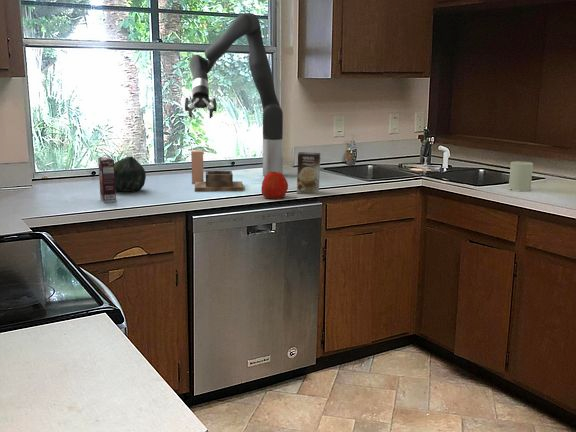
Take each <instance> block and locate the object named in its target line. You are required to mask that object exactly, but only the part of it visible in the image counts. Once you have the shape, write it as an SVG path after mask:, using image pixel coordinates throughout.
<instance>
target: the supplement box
mask: <svg viewBox="0 0 576 432" xmlns="http://www.w3.org/2000/svg"><path fill="white" fill-rule="evenodd" d="M114 163H115V159H113V158H111V157H110V156H103V157H97V165H98V177H99V178H98V179H99V194H100V196H99V197H100V200H101V201H102V202H103V203H104V204H105V203H116V202H117V191H116V188H115V170H114Z"/></svg>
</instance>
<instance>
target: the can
mask: <svg viewBox="0 0 576 432" xmlns="http://www.w3.org/2000/svg"><path fill="white" fill-rule="evenodd" d="M533 168H534V163H533V162H529V161H523V160H522V161H518V160H517V161H511V162H510V169H509V180H508V188H510V189H513V190H520V191H519V192H530V191H529V190H531V191H532V178H533V170H534V169H533ZM513 190H512V191H513Z"/></svg>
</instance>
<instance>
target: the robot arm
mask: <svg viewBox="0 0 576 432" xmlns="http://www.w3.org/2000/svg"><path fill="white" fill-rule="evenodd" d="M243 36H245V38H246V40H247V43H248V47H249V49H248V50H249V53H248V54H249V55H248V66H249V70H250V73H251V77H252V80H253V83H254V86H255V88H256V90H257V92H258V94H259V97H260V101H261V106H262V176H264V177H265V176H266V174H267V173H268V172H274V171H275V172H280V173H282V174H283V175H284V155H283V136H284V132H283V129H284V128H283V127H284V126H283V124H284V121H283V120H284V117H283V116H284V112H283V109H282V107H281V105H280V102H279V100H278V98H277V97H278V96H277V94H276V90H275V84H274V78H273V77H274V76H273V73H272V69H271V65H270V61H269V59H268V55H267V51H266V47H265V43H264V39H263V34H262V29H261V22H260V20H259V17H258V15H256V14H255V13H252V12H251V13H250V12H249V13H246V12H245V13H240V14H239V15H238V16H237V17H236V18H235V19H234V20H233V22H232V23H231V25H230V26H229V27H228V28H227V29H226V30H225V32H223V34H221V36H219V37H218V38H217V39H216V40H215V41H214V42H213V43H211V45H209V46H208V47H207V48H206V49H205V50H204V55H205V58H204V57H203V56H202V55H200V54H193V55H192V56H191V57H190V58H189V65H188V66H189V70H190V72H191V76H192V86H191V87H192V88H191V89H192V96H191V97H192V98H188V97H185V101H184V111H185V112H188V117H189V118H190V119H193V111H194V110H196V109H206V110H207V111H208V112H209V113H208V114H209V119H212V118H213V116H214V115H213V114H214V113H213V112H217V99H216V98H215V97H213V98H212V99H210V89H209V87H210V86H209V75H208V74H209V73H210V72H211V70H212V69H213V67H214V65H215V64H216V63H217V61H218V60H219V59H220V58H221V57H223V56H224V55H225V54H226V53H227V52H228V50H229V49H230V47H231V46H232V45H233V44H234V43H235V42H236V41H237V40H239V39H240V38H242V37H243Z"/></svg>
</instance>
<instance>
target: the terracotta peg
mask: <svg viewBox="0 0 576 432" xmlns="http://www.w3.org/2000/svg"><path fill="white" fill-rule="evenodd" d="M190 156H191V157H190V158H191V160H190V161H191V184H192V185H195V182H205V179H204V150H202V149H200V150H199V149H198V150H197V149H193V150H191V155H190Z"/></svg>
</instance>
